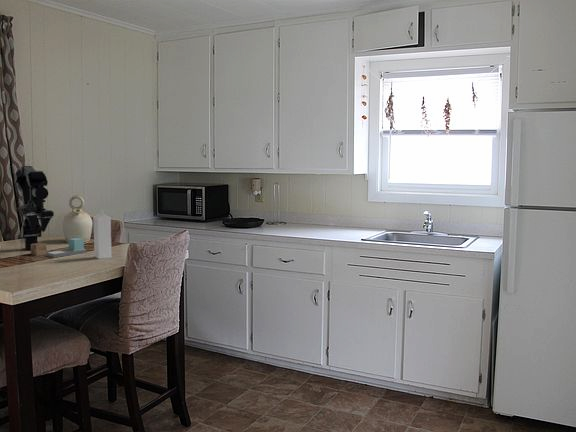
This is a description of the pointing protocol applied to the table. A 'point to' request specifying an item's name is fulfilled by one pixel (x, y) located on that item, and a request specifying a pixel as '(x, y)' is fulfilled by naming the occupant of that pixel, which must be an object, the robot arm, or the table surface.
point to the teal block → (76, 244)
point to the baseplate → (65, 253)
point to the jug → (77, 222)
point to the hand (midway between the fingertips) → (38, 230)
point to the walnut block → (38, 249)
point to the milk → (102, 235)
